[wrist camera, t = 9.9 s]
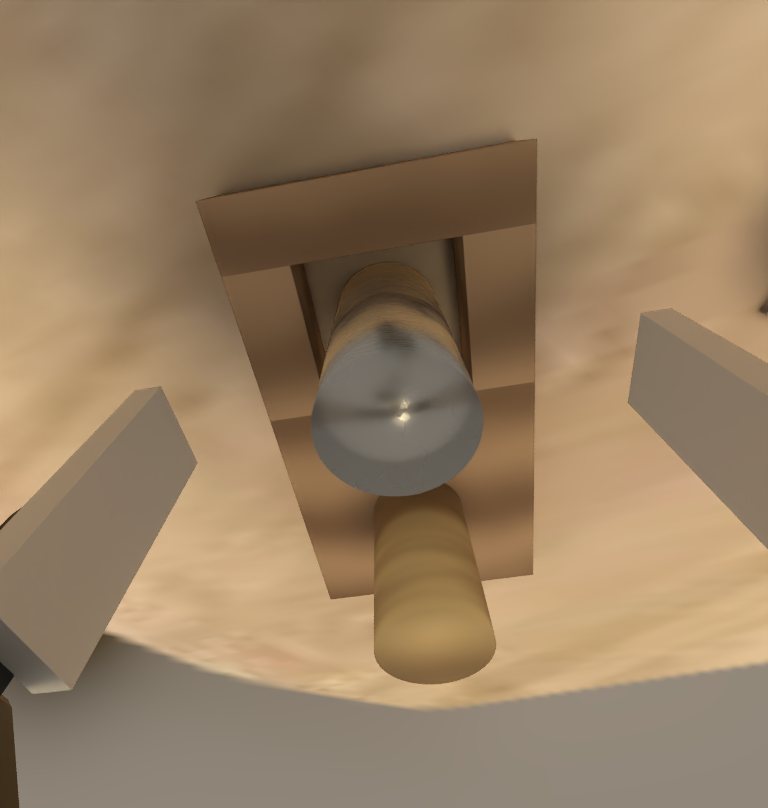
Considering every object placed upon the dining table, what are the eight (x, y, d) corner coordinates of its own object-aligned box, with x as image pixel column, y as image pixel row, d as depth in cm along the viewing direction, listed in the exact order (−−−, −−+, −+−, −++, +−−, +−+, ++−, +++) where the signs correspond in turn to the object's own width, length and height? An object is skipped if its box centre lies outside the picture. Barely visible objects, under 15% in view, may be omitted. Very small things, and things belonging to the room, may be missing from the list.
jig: (218, 195, 18) (70, 233, 9) (515, 141, 17) (661, 126, 8) (334, 564, 29) (316, 743, 20) (520, 540, 28) (586, 715, 19)
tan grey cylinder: (328, 271, 20) (290, 366, 11) (431, 254, 19) (478, 336, 11) (348, 365, 22) (331, 506, 13) (441, 351, 21) (487, 485, 13)
